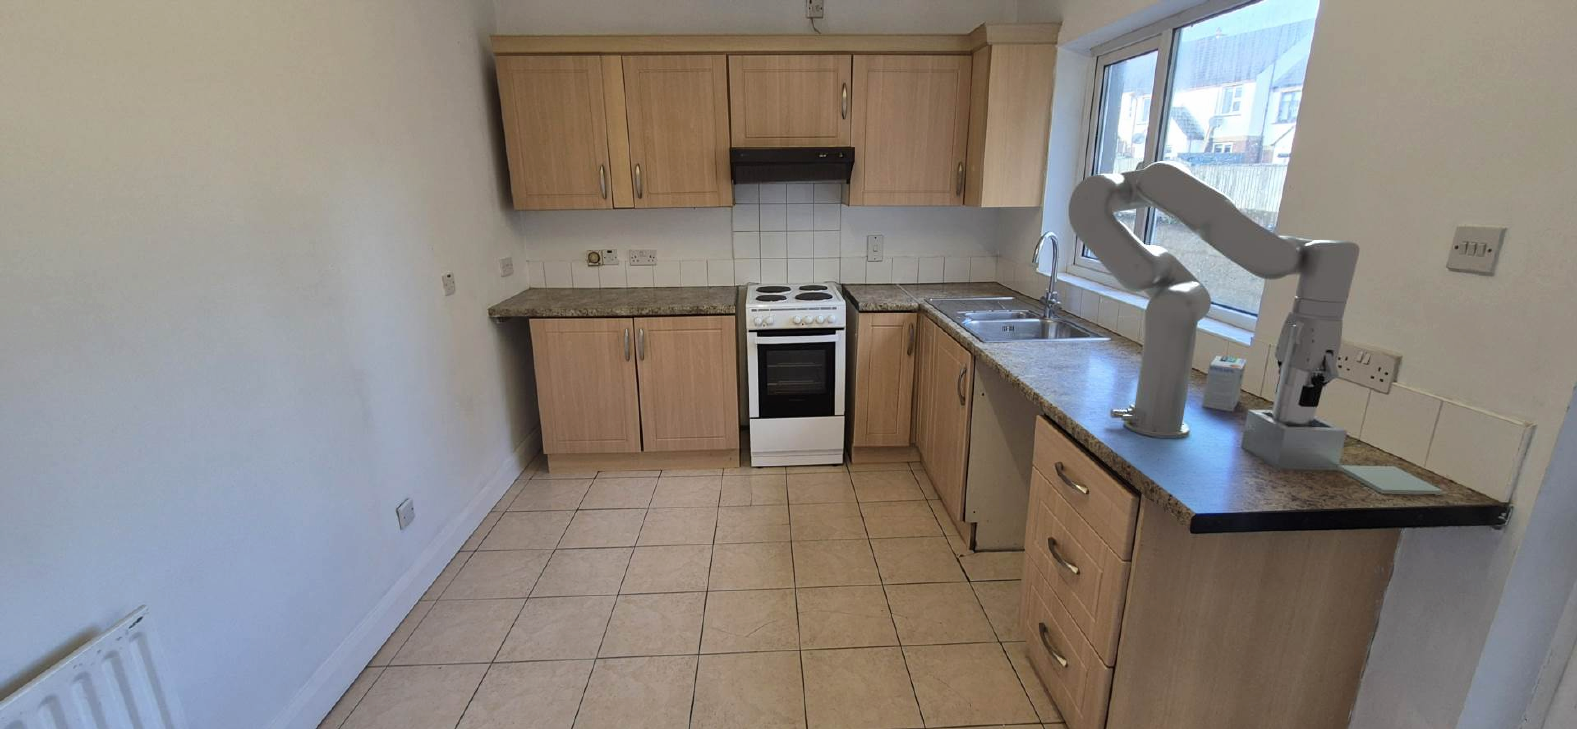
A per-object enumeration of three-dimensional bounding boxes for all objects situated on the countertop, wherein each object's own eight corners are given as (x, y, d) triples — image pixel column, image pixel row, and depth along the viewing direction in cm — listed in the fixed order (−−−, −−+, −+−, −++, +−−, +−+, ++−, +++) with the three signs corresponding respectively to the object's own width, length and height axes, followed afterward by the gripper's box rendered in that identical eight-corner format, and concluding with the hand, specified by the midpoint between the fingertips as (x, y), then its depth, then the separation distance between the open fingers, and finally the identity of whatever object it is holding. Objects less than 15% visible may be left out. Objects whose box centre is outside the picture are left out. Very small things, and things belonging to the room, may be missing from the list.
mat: (1381, 493, 113) (1382, 489, 113) (1338, 469, 123) (1338, 465, 123) (1441, 494, 113) (1443, 490, 112) (1393, 470, 122) (1394, 466, 122)
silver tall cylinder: (1313, 453, 124) (1346, 325, 117) (1274, 450, 125) (1305, 324, 118) (1294, 440, 130) (1325, 318, 123) (1258, 437, 131) (1286, 316, 124)
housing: (1276, 469, 123) (1285, 429, 121) (1240, 446, 134) (1248, 409, 131) (1337, 470, 122) (1347, 430, 120) (1296, 447, 133) (1304, 410, 131)
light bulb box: (1207, 395, 165) (1215, 354, 163) (1239, 401, 161) (1247, 359, 158) (1200, 406, 157) (1208, 363, 155) (1234, 412, 153) (1242, 368, 150)
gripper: (1266, 299, 128) (1247, 386, 134) (1332, 317, 112) (1307, 416, 117) (1306, 300, 128) (1285, 387, 133) (1377, 318, 112) (1350, 417, 117)
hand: (1296, 399), depth 125 cm, fingers closed on silver tall cylinder, 5 cm apart
